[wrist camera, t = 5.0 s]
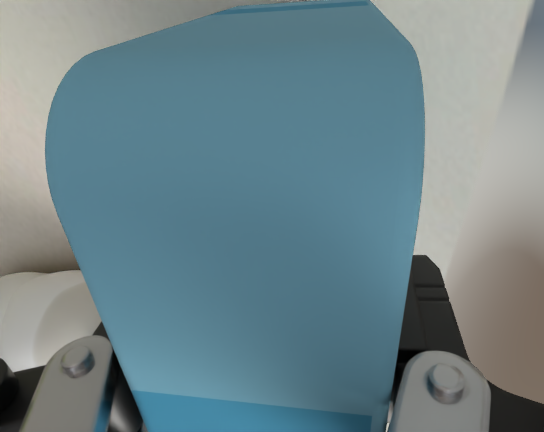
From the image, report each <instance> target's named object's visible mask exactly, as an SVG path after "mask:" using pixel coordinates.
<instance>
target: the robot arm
mask: <svg viewBox="0 0 544 432" xmlns="http://www.w3.org/2000/svg"><path fill="white" fill-rule="evenodd" d="M387 423H390V424H389V427H388V431H387V432H544V404H542V403H538V402H535V401H532V400H529V399H526V398H523V397H520V396H517V395H514V394H511V393H509V392H506V391H504V390H502V389H500V388H498V387H497V386H495V385H494V384H492V383H490V382H489V381H488V380H486V378H485V377H484V376H483V374H482V373H481V372H480V371H479V370H478V369H477V367H475V366H474V365H473V364H472V363H471V362H470V360H469V358H468V356H467V353H466V350H465V347H464V344H463V340H462V337H461V334H460V331H459V328H458V325H457V322H456V319H455V316H454V312H453V309H452V306H451V303H450V302H449V297H448V294H447V291H446V288H445V284H444V281H443V278H442V275H441V272H440V269H439V268H438V267H437V266H436V265H435V264H434V263H433V262H432V261H431V260H430V259H429V258H428V257H427V256H426V255H413V256H412V263H411V269H410V276H409V282H408V289H407V295H406V302H405V308H404V315H403V321H402V328H401V334H400V341H399V347H398V354H397V360H396V367H395V373H394V380H393V386H392V393H391V399H390V406H389V412H388V419H387ZM0 432H148V431H147V428H146V426H145V423H144V421H143V419H142V416H141V414H140V411H139V409H138V407H137V404H136V402H135V399H134V397H133V395H132V392H131V390H130V387H129V385H128V383H127V380H126V378H125V375H124V373H123V371H122V368H121V366H120V363H119V361H118V359H117V356H116V354H115V351H114V349H113V347H112V344H111V342H110V339H109V337H108V335H107V332H106V330H105V327H104V325H103V323H102V321H101V323H100V324H99V326H98V327H97V329H96V330H95V331H94V333H93V334H92V335H91V336H85V337H81V338H78V339H76V340H74V341H72V342H70V343H68V344H66V345H65V346H63V347H62V348H61V349H59V350H58V351H57V352H56V353H55V354H54V355H53V356H52V357H51V358H50V359H49V361H48V362H47V364H46V365H43V366H39V367H34V368H30V369H26V370H21V371H17V372H12V370H11V369H10V368H9V366H8V365H7V363H6V362H5V361H4V360H3V359H1V358H0Z"/></svg>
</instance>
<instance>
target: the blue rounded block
mask: <svg viewBox="0 0 544 432" xmlns="http://www.w3.org/2000/svg"><path fill="white" fill-rule="evenodd" d="M424 144H425V113H424V95H423V84H422V76H421V70H420V66H419V61H418V58H417V55H416V52H415V50H414V48H413V47H412V45H411V44H410V42H409V41H408V40H407V39H406V38H405V37H404V36H403V35H402V34H401V33H400V32H399V31H398V30H397V29H396V28H395V26H394V25H393V24H392V23H391V22H390V21H389V20H388V19H387V18H386V17H385V16H384V15H383V14H382V13H381V12H380V11H379V9H378V8H377V7H376V6H375V5H374V4H373V3H372V2H371V1H370V0H319V1H304V2H289V3H274V4H259V5H244V6H236V7H233V8H230V9H227V10H224V11H220V12H217V13H214V14H211V15H208V16H205V17H202V18H198V19H195V20H192V21H189V22H186V23H183V24H179V25H176V26H173V27H170V28H167V29H164V30H161V31H157V32H154V33H151V34H148V35H145V36H142V37H139V38H135V39H132V40H129V41H126V42H123V43H120V44H117V45H113V46H110V47H107V48H104V49H101V50H98V51H94V52H92V53H90V54H88V55H86V56H84V57H83V58H81V59H80V60H79V61H78V62H76V63H75V64H74V65H73V66H72V67H71V69H70V70H69V71H68V72H67V73H66V74H65V76H64V78H63V79H62V81H61V83H60V85H59V86H58V88H57V91H56V93H55V96H54V98H53V101H52V104H51V108H50V112H49V116H48V122H47V129H46V141H45V159H46V171H47V178H48V184H49V188H50V193H51V197H52V200H53V203H54V206H55V209H56V212H57V215H58V217H59V219H60V222H61V224H62V227H63V229H64V231H65V234H66V236H67V239H68V241H69V243H70V246H71V248H72V251H73V253H74V255H75V258H76V260H77V263H78V265H79V267H80V270H81V272H82V275H83V277H84V279H85V282H86V284H87V287H88V289H89V291H90V294H91V296H92V299H93V301H94V303H95V306H96V308H97V311H98V313H99V315H100V318H101V320H102V323H103V325H104V327H105V330H106V332H107V335H108V337H109V339H110V342H111V344H112V347H113V349H114V351H115V354H116V356H117V359H118V361H119V363H120V366H121V368H122V371H123V373H124V375H125V378H126V380H127V383H128V385H129V387H130V390H131V392H132V395H133V397H134V399H135V402H136V404H137V407H138V409H139V411H140V414H141V416H142V419H143V421H144V423H145V426H146V428H147V431H148V432H386V425H387V419H388V412H389V406H390V399H391V393H392V386H393V380H394V373H395V367H396V360H397V354H398V347H399V341H400V334H401V328H402V321H403V315H404V308H405V302H406V295H407V289H408V282H409V276H410V269H411V263H412V256H413V250H414V243H415V237H416V231H417V224H418V217H419V210H420V202H421V193H422V182H423V168H424Z"/></svg>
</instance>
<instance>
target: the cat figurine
mask: <svg viewBox="0 0 544 432" xmlns="http://www.w3.org/2000/svg"><path fill="white" fill-rule="evenodd" d="M101 321H102V320H101V318H100V315H99V313H98V311H97V308H96V306H95V303H94V301H93V299H92V296H91V294H90V291H89V289H88V287H87V284H86V282H85V279H84V277H83V275H82V272H81V270H69V271H61V272H55V273H50V274H46V273H39V272H19V273H13V274H9V275H5V276H2V277H0V358H1V359H3V360H4V361H5V362H6V363H7V365H8V366H9V368H10V369H11V370H12V372H17V371H21V370H26V369H30V368H34V367H39V366H43V365H46V364H47V362H48V361H49V359H50V358H51V357H52V356H53V355H54V354H55V353H56V352H57V351H58V350H59V349H61V348H62V347H63V346H65V345H66V344H68V343H70V342H72V341H74V340H76V339H78V338H81V337H85V336H91V335H92V334H93V333H94V331H95V330H96V329H97V327H98V326H99V324H100V323H101Z"/></svg>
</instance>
